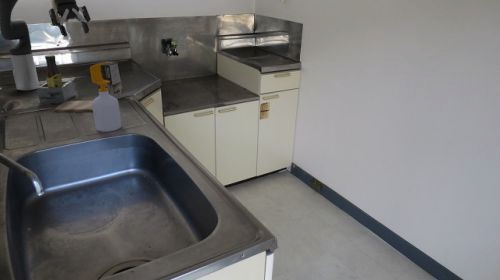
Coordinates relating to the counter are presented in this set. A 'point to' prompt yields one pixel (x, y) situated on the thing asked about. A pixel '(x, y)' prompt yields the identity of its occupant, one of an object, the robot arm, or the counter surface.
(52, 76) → the sauce bottle
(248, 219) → the counter surface
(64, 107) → the walnut board
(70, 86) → the grey open box
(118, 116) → the spray bottle
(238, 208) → the counter surface
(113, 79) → the coffee box
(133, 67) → the counter surface
